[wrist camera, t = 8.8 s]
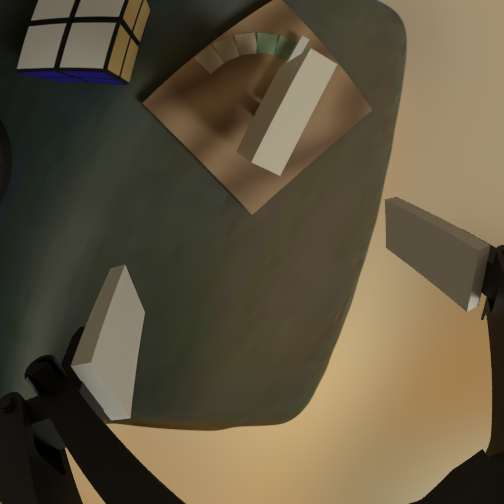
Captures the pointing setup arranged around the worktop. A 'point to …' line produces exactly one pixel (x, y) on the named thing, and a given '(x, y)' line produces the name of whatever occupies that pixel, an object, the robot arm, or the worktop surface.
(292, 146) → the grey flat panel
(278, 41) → the brown square board
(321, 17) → the worktop surface
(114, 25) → the puzzle cube
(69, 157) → the worktop surface
